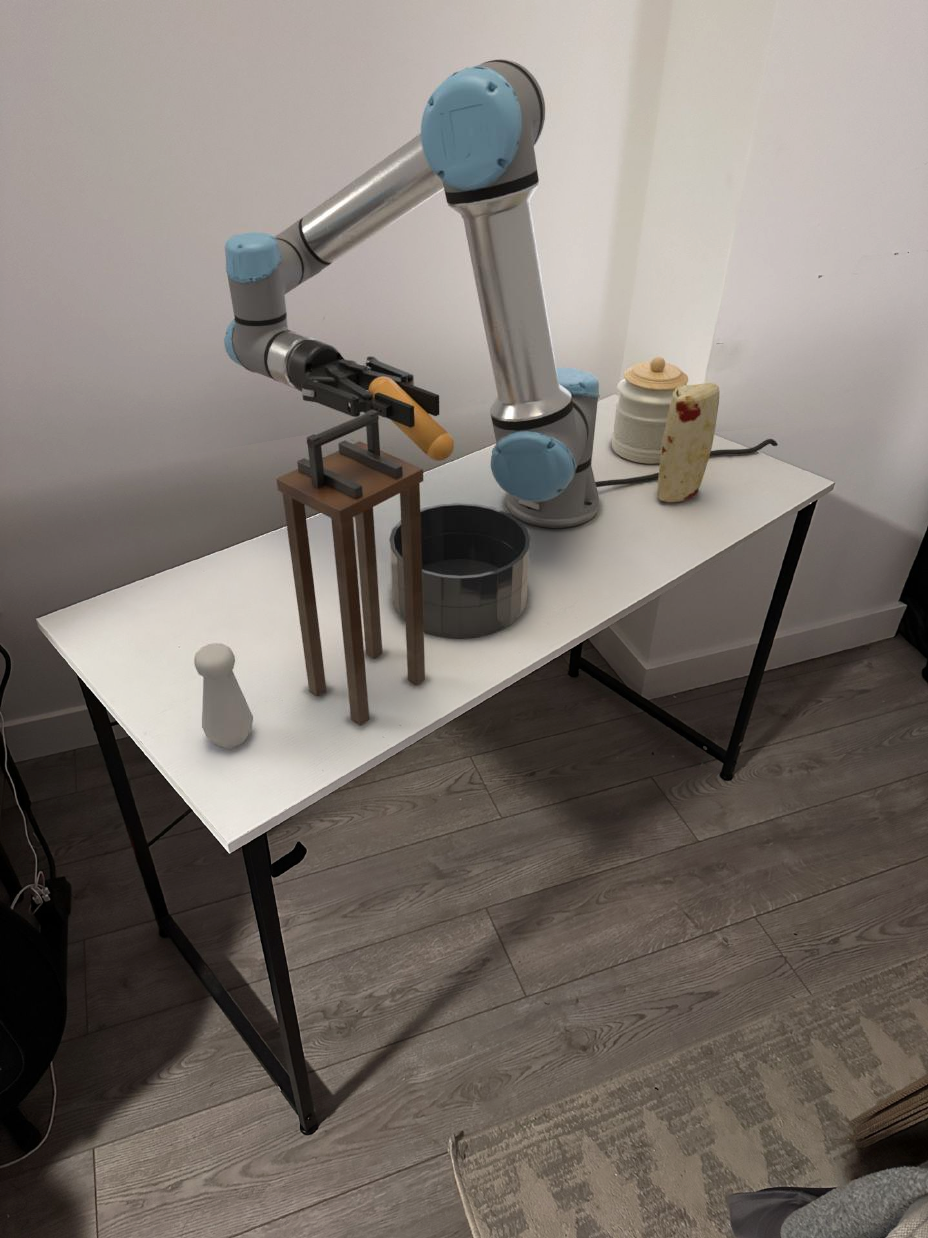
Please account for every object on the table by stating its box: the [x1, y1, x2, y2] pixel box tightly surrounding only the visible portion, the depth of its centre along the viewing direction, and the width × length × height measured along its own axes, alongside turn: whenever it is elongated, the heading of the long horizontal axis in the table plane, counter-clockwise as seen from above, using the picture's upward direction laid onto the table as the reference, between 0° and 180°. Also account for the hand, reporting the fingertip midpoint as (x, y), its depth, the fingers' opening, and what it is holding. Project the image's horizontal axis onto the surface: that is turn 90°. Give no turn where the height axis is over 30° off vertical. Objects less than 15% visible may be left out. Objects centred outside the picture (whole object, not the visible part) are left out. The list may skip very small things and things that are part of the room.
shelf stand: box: [275, 410, 426, 726], centre depth 101 cm, size 10×12×36 cm
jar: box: [611, 356, 689, 465], centre depth 160 cm, size 13×13×18 cm
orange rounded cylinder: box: [367, 377, 455, 462], centre depth 117 cm, size 15×4×4 cm, turn 49°
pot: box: [388, 502, 531, 640], centre depth 124 cm, size 19×19×10 cm
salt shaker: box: [193, 642, 254, 750], centre depth 101 cm, size 6×6×13 cm
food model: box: [657, 382, 720, 503], centre depth 145 cm, size 10×7×20 cm
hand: (424, 411), depth 114 cm, fingers closed on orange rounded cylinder, 4 cm apart
